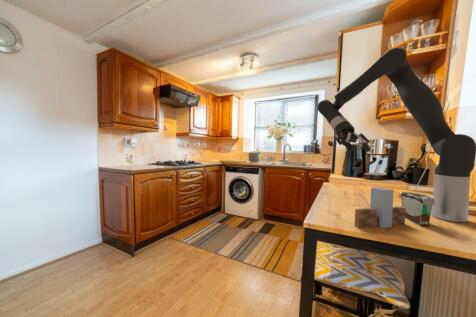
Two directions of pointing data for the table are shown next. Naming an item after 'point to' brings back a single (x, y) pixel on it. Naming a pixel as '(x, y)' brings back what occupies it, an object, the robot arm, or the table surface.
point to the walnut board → (369, 217)
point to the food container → (417, 207)
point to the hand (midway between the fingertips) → (360, 150)
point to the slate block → (382, 205)
